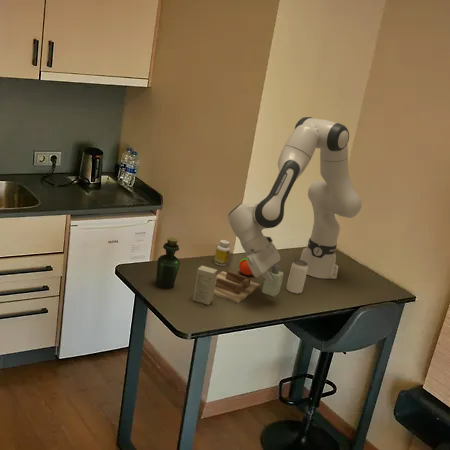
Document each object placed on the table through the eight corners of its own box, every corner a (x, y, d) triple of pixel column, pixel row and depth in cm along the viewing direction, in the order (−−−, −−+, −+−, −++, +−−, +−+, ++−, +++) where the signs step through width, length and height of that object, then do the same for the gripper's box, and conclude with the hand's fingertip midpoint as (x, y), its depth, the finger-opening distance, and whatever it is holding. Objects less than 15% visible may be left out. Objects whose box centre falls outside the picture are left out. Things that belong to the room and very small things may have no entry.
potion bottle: (178, 290, 220) (186, 244, 215) (156, 289, 217) (164, 243, 212) (172, 280, 227) (180, 235, 222) (151, 279, 224) (158, 234, 219)
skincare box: (212, 301, 217) (218, 269, 213) (208, 305, 213) (214, 273, 209) (196, 295, 219) (202, 264, 215) (191, 299, 215) (197, 268, 211)
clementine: (239, 277, 242) (243, 261, 239) (232, 270, 247) (235, 254, 245) (257, 277, 245) (260, 261, 243) (249, 270, 251) (253, 254, 249)
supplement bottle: (225, 267, 249) (229, 245, 246) (212, 264, 250) (217, 242, 247) (227, 262, 254) (232, 241, 251) (215, 259, 255) (219, 238, 252)
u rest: (222, 273, 243) (224, 264, 241) (258, 286, 237) (261, 277, 236) (199, 288, 225) (201, 279, 224) (238, 303, 219) (241, 293, 218)
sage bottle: (266, 287, 226) (272, 260, 223) (279, 292, 225) (285, 265, 221) (261, 292, 222) (268, 264, 219) (274, 296, 220) (281, 269, 217)
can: (292, 285, 244) (299, 258, 241) (305, 292, 240) (312, 264, 237) (282, 288, 240) (289, 260, 236) (295, 295, 236) (302, 267, 232)
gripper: (252, 249, 211) (272, 284, 211) (272, 236, 229) (291, 268, 229) (238, 257, 214) (258, 291, 214) (259, 243, 232) (277, 275, 232)
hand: (275, 279), depth 221 cm, fingers closed on sage bottle, 5 cm apart
